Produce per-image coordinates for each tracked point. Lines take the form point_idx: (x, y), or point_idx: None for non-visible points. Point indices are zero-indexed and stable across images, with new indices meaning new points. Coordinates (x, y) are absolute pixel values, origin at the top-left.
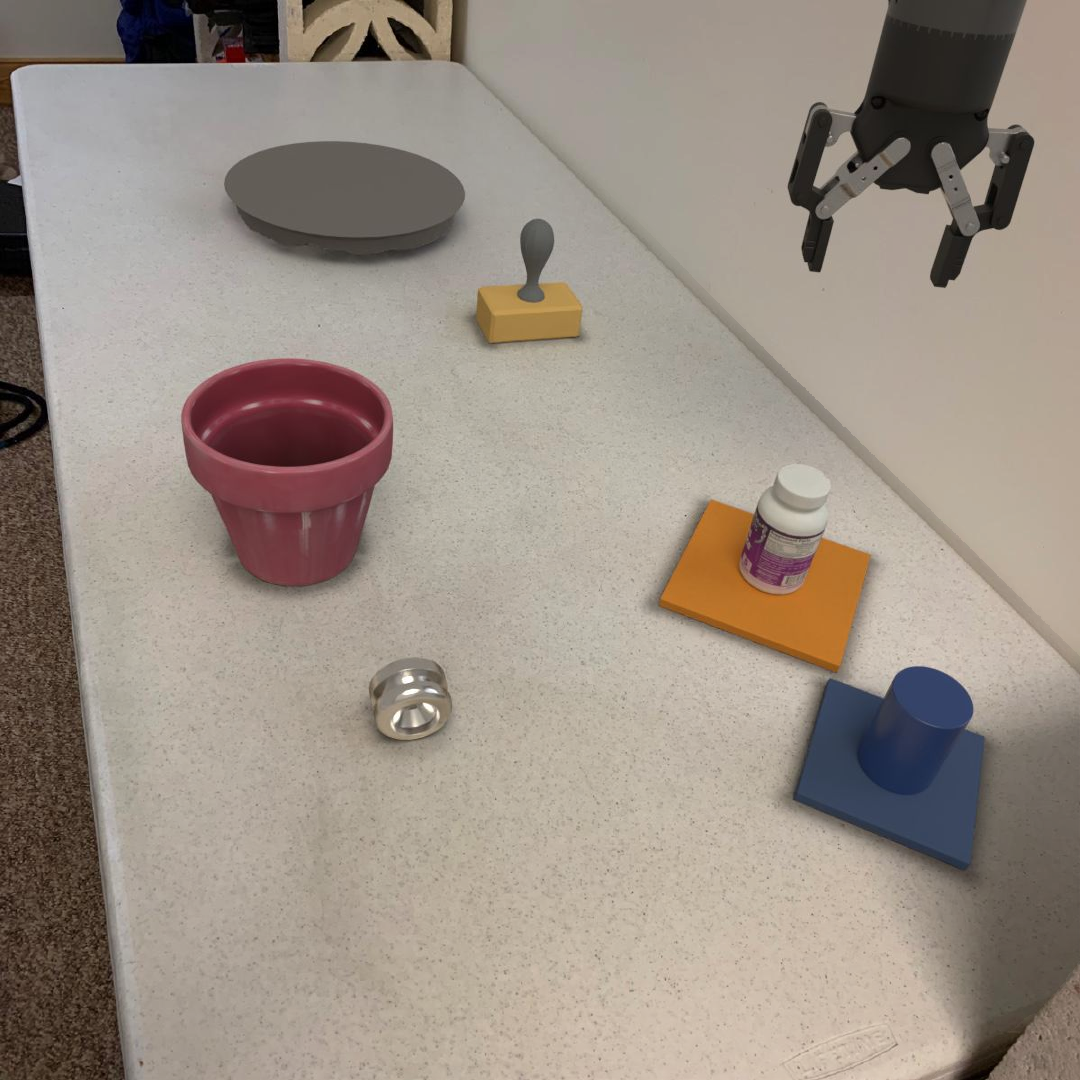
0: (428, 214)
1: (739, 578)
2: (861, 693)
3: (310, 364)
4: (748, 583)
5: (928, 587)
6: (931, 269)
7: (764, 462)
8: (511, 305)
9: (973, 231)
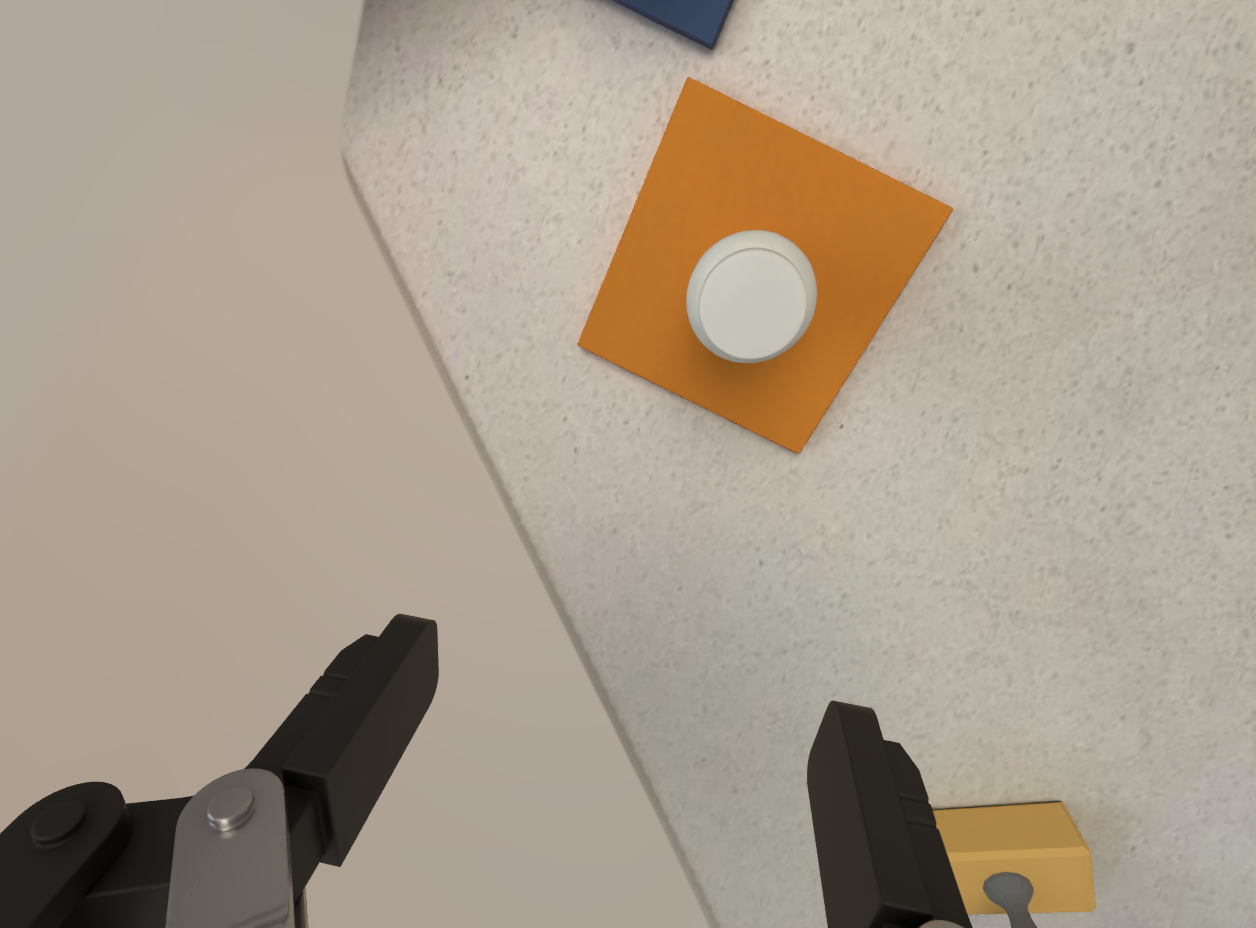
0: None
1: None
2: (668, 12)
3: None
4: None
5: (503, 294)
6: (428, 707)
7: (684, 548)
8: (1051, 866)
9: (225, 787)
